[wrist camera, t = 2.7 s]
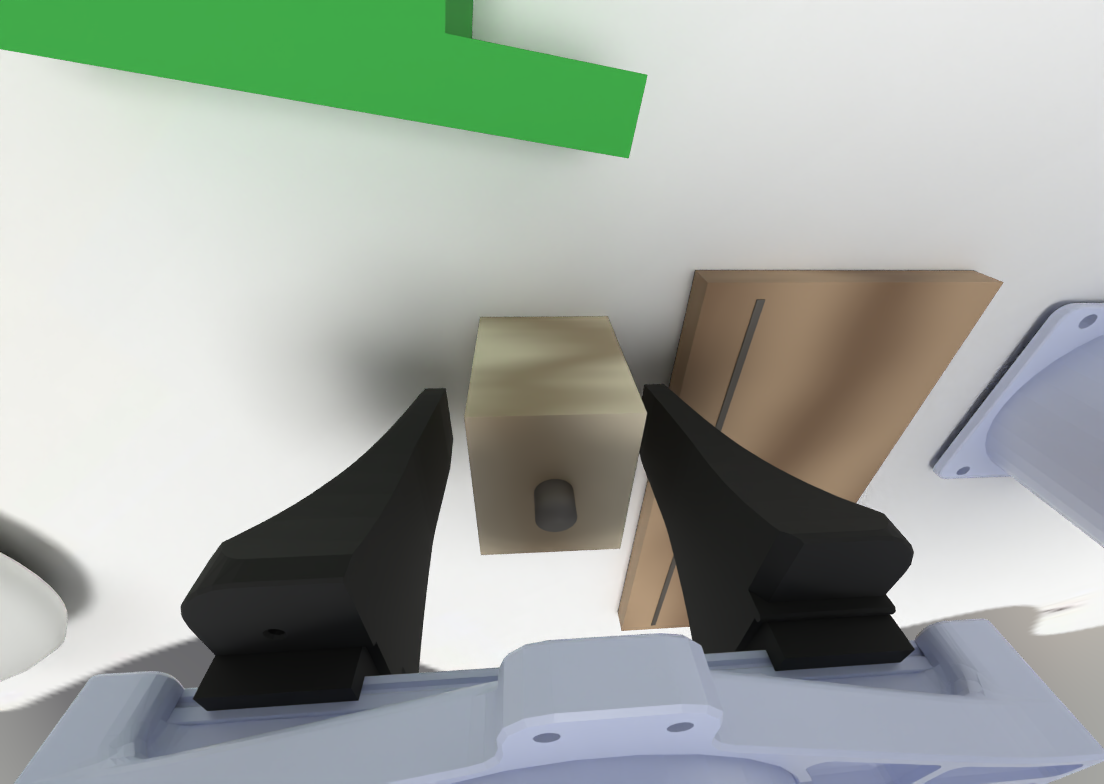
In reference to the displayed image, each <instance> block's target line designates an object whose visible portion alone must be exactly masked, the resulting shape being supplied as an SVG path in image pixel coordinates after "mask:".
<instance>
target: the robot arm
mask: <svg viewBox="0 0 1104 784" xmlns="http://www.w3.org/2000/svg"><path fill="white" fill-rule="evenodd" d="M642 402H643V404H644V407H645V409H646V412H647V416H646V421H645V426H644V431H643V436H642V441H641V446H640V451H639V453H640V457H641V461H642V464H643V467H644V469H645V472H646V475H647V477H648V480H649V483H650V485H651V488H652V491H653V493H654V496H655V499H656V501H657V504H658V507H659V509H660V512H661V514H662V517H663V520H664V523H665V526H666V529H667V532H668V535H669V539H670V543H671V547H672V551H673V555H674V559H675V562H676V567H677V571H678V575H679V579H680V584H681V588H682V592H683V597H684V602H685V606H686V611H687V616H688V620H689V625H690V630H691V636H692V640H691V639H689V638H687V637H685V636H684V635H678V634H665V633H656V634H640V635H624V636H608V637H592V638H576V639H560V640H547V641H542V642H537V643H531V644H526V645H524V646H522V647H520V648H518V649H516V650H514V651H513V652H511V653H509V654H508V655H507V656H506V657H505V658H504V660H503V662H502V664H501V666H500V668H486V669H471V670H456V671H441V672H426V673H419V662H420V650H421V639H422V630H423V620H424V610H425V601H426V592H427V584H428V575H429V567H430V560H431V552H432V545H433V539H434V534H435V529H436V525H437V521H438V516H439V512H440V508H441V504H442V500H443V496H444V492H445V487H446V483H447V479H448V475H449V470H450V464H451V456H452V445H453V435H452V428H451V421H450V414H449V408H448V401H447V394H446V388H437V389H425V390H424V391H423V392H422V393H421V394H420V395H419V396H418V397H417V399H416V400H415V401H414V402H413V403H412V405H411V406H410V407H409V408H408V409H407V410H406V412H405V413H404V414H403V415H402V416H401V417H400V418H399V419H398V421H397V422H396V423H395V424H394V425H393V426H392V427H391V428H390V429H389V430H388V431H387V432H386V433H385V434H384V435H383V436H382V437H381V438H380V439H379V440H378V441H377V442H376V443H375V444H374V445H373V446H372V447H371V448H370V449H369V450H368V451H367V452H366V453H365V454H364V455H363V456H361V457H360V458H359V459H358V460H357V461H356V462H354V463H353V464H352V465H351V466H349V467H348V468H347V469H346V470H344V471H343V472H342V473H340V474H339V475H338V476H336V477H335V478H333V479H332V480H331V481H329V482H328V483H326V484H325V485H323V486H322V487H321V488H319V489H318V490H316V491H315V492H313V493H312V494H310V495H309V496H307V497H306V498H304V499H302V500H301V501H299V502H298V503H296V504H294V505H293V506H291V507H289V508H287V509H286V510H284V511H282V512H281V513H279V514H277V515H275V516H273V517H272V518H270V519H268V520H266V521H264V522H262V523H260V524H258V525H256V526H254V527H252V528H250V529H248V530H246V531H244V532H242V533H241V534H239V535H237V536H235V537H233V538H231V539H228V540H226V541H224V542H222V544H221V545H220V546H219V548H218V549H217V550H216V552H215V553H214V555H213V556H212V557H211V559H210V560H209V562H208V563H207V565H206V566H205V568H204V570H203V571H202V573H201V574H200V576H199V577H198V579H197V580H196V582H195V584H194V585H193V587H192V588H191V590H190V591H189V593H188V595H187V596H186V598H185V599H184V601H183V603H182V605H181V615H182V618H183V620H184V621H185V623H186V624H187V626H188V627H189V628H190V629H191V630H192V631H193V633H194V634H195V635H196V636H197V637H198V638H199V639H200V640H201V641H203V643H204V644H205V645H206V646H207V647H208V648H209V649H210V650H211V651H212V652H213V653H214V654H215V655H216V656H215V658H214V659H213V662H212V663H211V665H210V667H209V669H208V671H207V672H206V674H205V676H204V678H203V680H202V682H201V684H200V686H199V687H198V688H186V689H184V688H183V686H182V684H181V683H180V682H179V681H178V680H177V679H176V678H175V677H173V676H171V675H169V674H167V673H162V672H154V671H153V672H152V671H146V672H130V673H115V674H99V675H96V676H93V677H91V678H90V679H89V681H88V682H87V683H86V685H85V686H84V687H83V689H82V690H81V692H80V693H79V694H78V696H77V697H76V699H75V700H74V701H73V703H72V704H71V705H70V707H69V708H68V709H67V711H66V712H65V714H64V715H63V716H62V718H61V719H60V720H59V722H58V723H57V725H56V726H55V727H54V729H53V730H52V732H51V733H50V734H49V736H48V737H47V739H46V740H45V741H44V743H43V744H42V745H41V747H40V748H39V749H38V751H37V752H36V754H35V755H34V756H33V758H32V759H31V760H30V762H29V763H28V765H27V766H26V767H25V769H24V770H23V771H22V773H21V774H20V776H19V777H18V778H17V780H16V781H15V782H14V784H1047V783H1050V782H1052V781H1055V780H1057V779H1060V778H1062V777H1065V776H1067V775H1070V774H1073V773H1075V772H1078V771H1080V770H1083V769H1085V768H1088V767H1091V766H1093V765H1095V764H1098V763H1101V762H1103V761H1104V749H1103V747H1102V746H1101V745H1100V744H1099V743H1098V742H1097V741H1096V740H1095V738H1094V737H1093V736H1092V735H1091V734H1090V733H1089V732H1088V731H1087V729H1086V728H1085V727H1084V726H1083V725H1082V724H1081V723H1080V722H1079V721H1078V720H1077V719H1076V717H1075V716H1074V715H1073V714H1072V713H1071V712H1070V711H1069V709H1068V708H1067V707H1066V706H1065V705H1064V704H1063V703H1062V702H1061V700H1060V699H1059V698H1058V697H1057V696H1056V695H1055V694H1054V693H1053V692H1052V690H1051V689H1050V688H1049V687H1048V686H1047V685H1046V684H1045V683H1044V682H1043V680H1042V679H1041V678H1040V677H1039V676H1038V675H1037V674H1036V673H1035V671H1034V670H1033V669H1032V668H1031V667H1030V666H1029V665H1028V664H1027V663H1026V661H1025V660H1024V659H1023V658H1022V657H1021V656H1020V655H1019V654H1018V652H1016V650H1015V649H1014V648H1013V647H1012V646H1011V645H1010V644H1009V642H1008V641H1007V640H1006V639H1005V638H1004V637H1003V636H1002V635H1001V634H1000V632H999V631H998V630H997V629H996V628H995V627H994V626H993V625H992V624H991V622H990V621H989V620H986V619H969V620H953V621H942V622H937V623H934V624H931V625H929V626H927V627H926V628H924V629H923V630H922V631H921V632H920V633H919V634H918V635H917V636H916V638H915V640H908V639H907V638H906V636H905V635H904V633H903V632H902V631H901V629H900V628H899V626H898V625H897V624H896V622H895V621H894V619H893V618H892V617H891V615H890V614H894V612H895V611H896V610H895V606H894V605H893V603H892V602H891V601H890V599H889V598H888V597H887V595H886V593H887V592H888V591H889V590H890V589H891V588H892V587H893V586H894V584H895V583H896V582H897V581H898V580H899V579H900V578H901V577H902V576H903V574H904V573H905V572H906V571H907V569H908V568H909V566H910V565H911V562H912V558H913V554H914V551H913V548H912V546H911V544H910V543H909V542H908V541H907V540H906V538H905V537H904V536H903V535H902V534H901V533H900V531H899V530H898V529H897V528H896V527H895V526H894V525H893V523H892V522H891V521H890V520H889V519H888V518H887V517H886V515H885V514H883V513H881V512H878V511H875V510H873V509H870V508H867V507H865V506H862V505H859V504H857V503H854V502H851V501H848V500H846V499H843V498H841V497H838V496H836V495H833V494H831V493H829V492H826V491H824V490H822V489H820V488H817V487H815V486H813V485H811V484H809V483H806V482H804V481H802V480H800V479H798V478H796V477H794V476H792V475H790V474H788V473H786V472H785V471H783V470H781V469H779V468H777V467H775V466H773V465H771V464H770V463H768V462H766V461H764V460H763V459H761V458H759V457H758V456H756V455H755V454H753V453H751V452H750V451H748V450H747V449H745V448H743V447H742V446H741V445H739V444H738V443H736V442H735V441H733V440H732V439H730V438H729V437H728V436H726V435H725V434H724V433H722V432H721V431H720V430H718V429H717V428H716V427H714V426H713V425H712V424H710V423H709V422H708V421H707V420H705V419H704V418H703V417H702V416H701V415H699V414H698V413H697V412H696V411H695V410H693V409H692V408H691V407H690V406H689V405H688V404H686V403H685V402H684V401H683V400H682V399H681V398H679V397H678V396H677V395H676V394H675V393H674V392H673V391H671V390H670V389H669V388H668V387H666V386H665V385H664V384H649V385H644V391H643V396H642ZM933 471H934V472H935V473H936V474H937V475H938V476H939V477H940V478H945V479H948V478H975V477H1002V476H1012V477H1013V478H1014V479H1016V480H1017V481H1018V482H1019V483H1021V484H1022V485H1023V486H1025V487H1026V488H1027V489H1028V490H1030V491H1031V492H1032V493H1034V494H1035V495H1036V496H1038V497H1039V498H1040V499H1041V500H1043V501H1044V502H1045V503H1047V504H1048V505H1049V506H1050V507H1052V508H1053V509H1054V510H1056V511H1057V512H1058V513H1059V514H1061V515H1062V516H1063V517H1065V518H1066V519H1067V520H1068V521H1070V522H1071V523H1072V524H1074V525H1075V526H1076V527H1078V528H1079V529H1080V530H1081V531H1083V532H1084V533H1085V534H1087V535H1088V536H1089V537H1090V538H1092V539H1093V540H1094V541H1096V542H1097V543H1098V544H1099V545H1101V546H1102V547H1103V548H1104V303H1072V304H1067V305H1064V306H1062V307H1060V308H1058V309H1057V310H1056V311H1054V312H1053V313H1052V314H1051V315H1050V316H1049V318H1048V319H1047V320H1046V321H1045V323H1044V324H1043V325H1042V327H1041V328H1040V329H1039V330H1038V332H1037V333H1036V334H1035V336H1034V337H1033V338H1032V340H1031V341H1030V342H1029V343H1028V345H1027V346H1026V347H1025V349H1024V350H1023V351H1022V353H1021V354H1020V355H1019V356H1018V358H1017V359H1016V360H1015V362H1014V363H1013V364H1012V366H1011V367H1010V368H1009V369H1008V371H1007V372H1006V373H1005V375H1004V376H1003V377H1002V379H1001V380H1000V381H999V382H998V384H997V385H996V386H995V388H994V389H993V390H992V391H991V393H990V394H989V395H988V397H987V398H986V399H985V401H984V402H983V403H982V404H981V406H980V407H979V408H978V410H977V411H976V412H975V414H974V415H973V416H972V417H971V419H970V420H969V421H968V423H967V424H966V425H965V427H964V428H963V429H962V430H961V432H960V433H959V434H958V436H957V437H956V438H955V440H954V441H953V442H952V443H951V445H950V446H949V447H948V449H947V450H946V451H945V452H944V454H943V455H942V456H941V458H940V459H939V460H938V462H937V463H936V464H935V466H934V468H933Z"/></svg>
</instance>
